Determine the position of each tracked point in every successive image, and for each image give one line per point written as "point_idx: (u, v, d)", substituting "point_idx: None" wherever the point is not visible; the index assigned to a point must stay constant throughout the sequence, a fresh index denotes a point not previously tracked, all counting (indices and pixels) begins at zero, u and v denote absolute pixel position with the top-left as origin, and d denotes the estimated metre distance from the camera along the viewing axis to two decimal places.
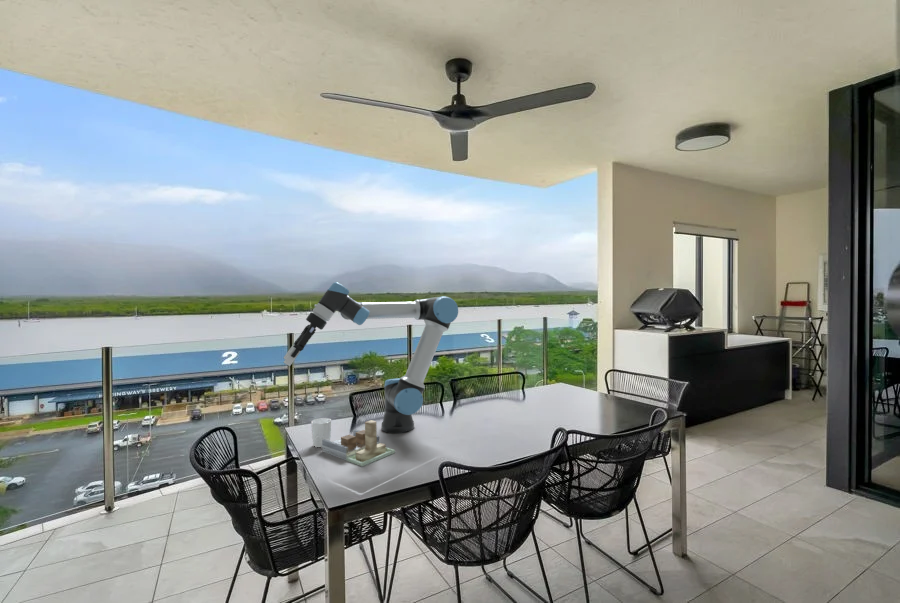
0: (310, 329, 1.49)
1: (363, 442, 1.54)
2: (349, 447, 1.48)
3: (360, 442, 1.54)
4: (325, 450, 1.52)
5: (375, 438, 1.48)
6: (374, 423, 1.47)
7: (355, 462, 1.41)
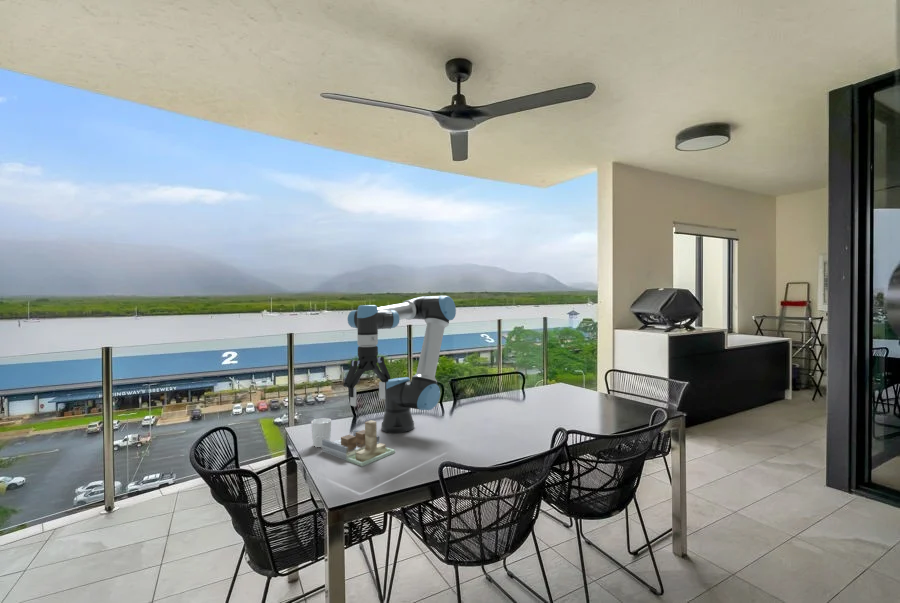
0: None
1: (363, 442, 1.54)
2: (349, 447, 1.48)
3: (360, 442, 1.54)
4: (325, 450, 1.52)
5: (375, 438, 1.48)
6: (374, 423, 1.47)
7: (355, 462, 1.41)
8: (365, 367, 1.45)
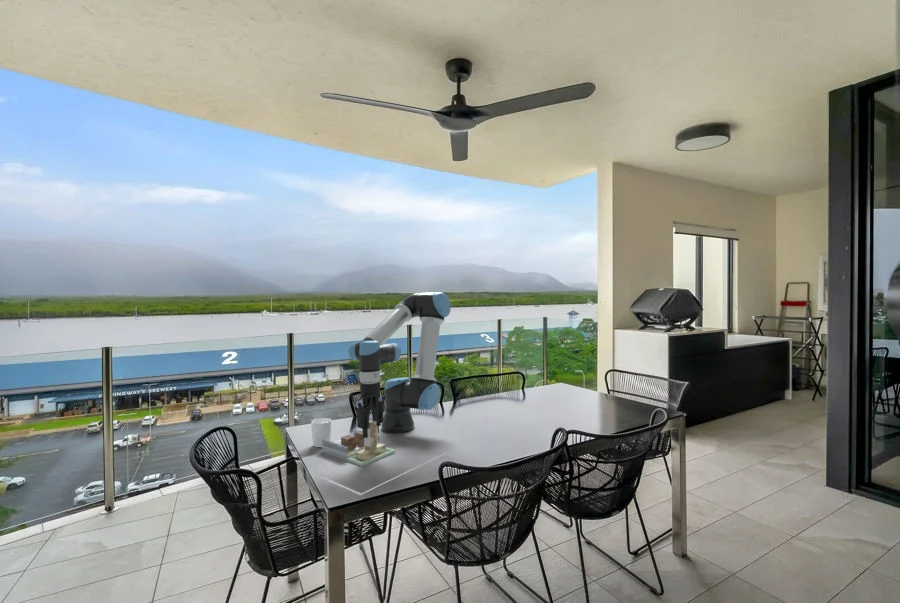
0: None
1: (363, 442, 1.54)
2: (349, 447, 1.48)
3: (360, 442, 1.54)
4: (325, 450, 1.52)
5: (375, 438, 1.48)
6: (374, 423, 1.47)
7: (355, 462, 1.41)
8: (370, 405, 1.46)
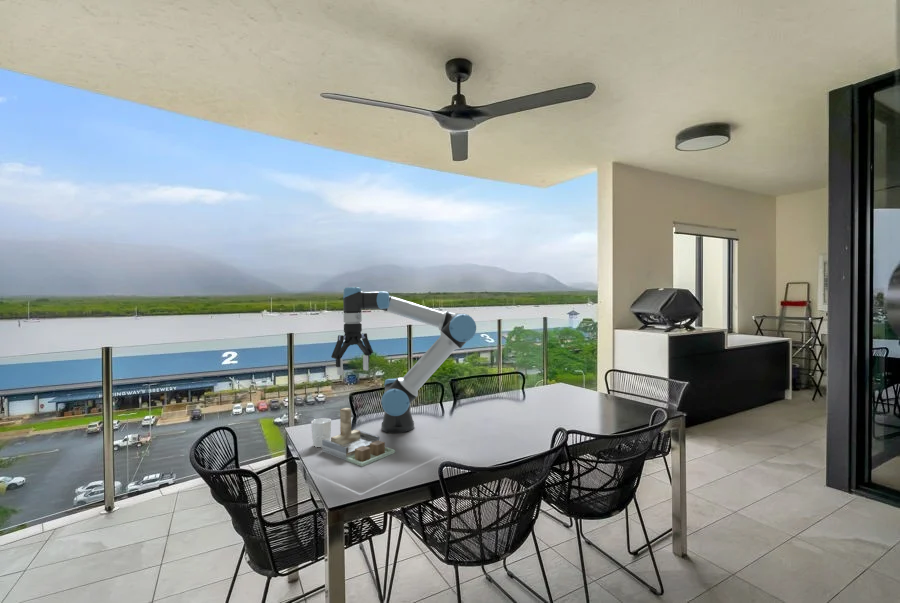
0: None
1: None
2: None
3: (371, 451, 1.50)
4: (325, 450, 1.52)
5: (350, 424, 1.57)
6: (349, 410, 1.57)
7: (355, 462, 1.41)
8: (350, 341, 1.65)
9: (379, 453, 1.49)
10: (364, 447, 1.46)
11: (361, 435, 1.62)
